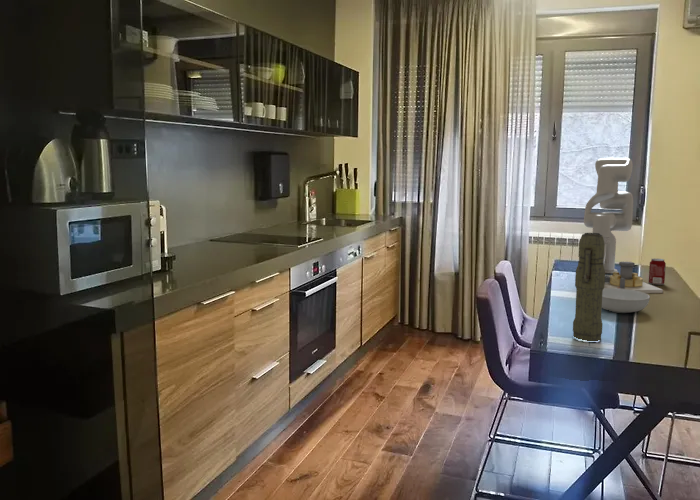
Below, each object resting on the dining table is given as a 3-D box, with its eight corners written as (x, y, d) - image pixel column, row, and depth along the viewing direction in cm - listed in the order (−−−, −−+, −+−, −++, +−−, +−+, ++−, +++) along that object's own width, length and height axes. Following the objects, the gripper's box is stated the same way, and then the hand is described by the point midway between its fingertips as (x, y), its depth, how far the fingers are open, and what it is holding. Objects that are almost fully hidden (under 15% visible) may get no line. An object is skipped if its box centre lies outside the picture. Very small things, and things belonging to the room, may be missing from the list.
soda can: (662, 286, 275) (664, 261, 274) (647, 284, 279) (648, 259, 278) (665, 283, 281) (667, 259, 279) (649, 282, 285) (651, 257, 283)
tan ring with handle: (640, 281, 277) (640, 272, 276) (643, 287, 264) (644, 277, 264) (584, 279, 285) (584, 269, 284) (585, 284, 272) (585, 274, 272)
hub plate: (591, 282, 285) (592, 258, 283) (636, 282, 285) (637, 258, 283) (613, 293, 261) (614, 267, 259) (662, 293, 261) (664, 267, 259)
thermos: (603, 336, 197) (608, 232, 192) (599, 345, 187) (605, 236, 182) (574, 332, 201) (579, 231, 196) (570, 342, 191) (575, 234, 186)
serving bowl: (615, 319, 219) (616, 301, 218) (579, 306, 239) (580, 289, 238) (661, 314, 224) (662, 297, 223) (622, 302, 244) (623, 286, 243)
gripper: (593, 238, 287) (591, 275, 290) (590, 241, 274) (588, 280, 276) (610, 239, 284) (608, 276, 286) (608, 242, 270) (606, 281, 273)
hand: (598, 278), depth 281 cm, fingers closed
